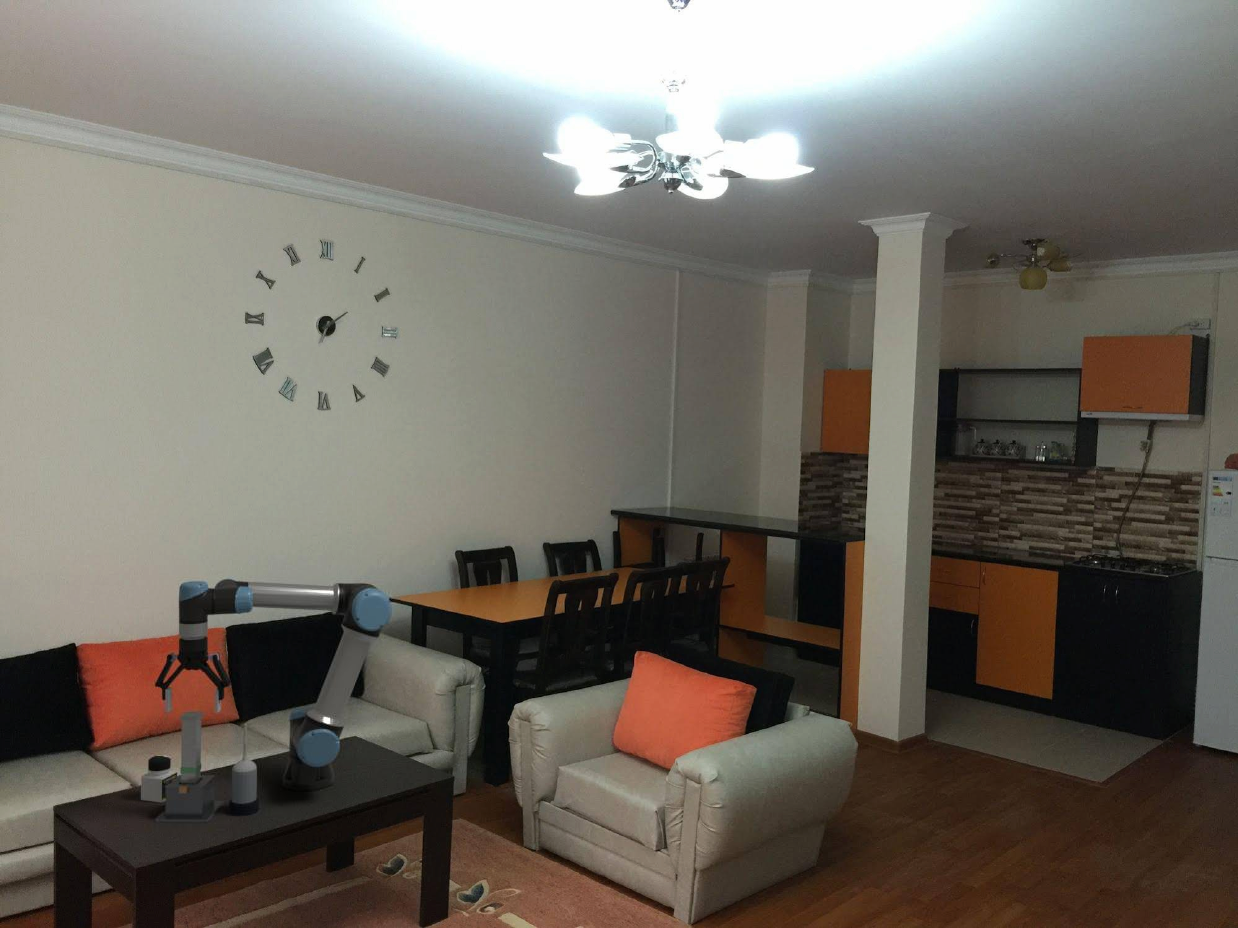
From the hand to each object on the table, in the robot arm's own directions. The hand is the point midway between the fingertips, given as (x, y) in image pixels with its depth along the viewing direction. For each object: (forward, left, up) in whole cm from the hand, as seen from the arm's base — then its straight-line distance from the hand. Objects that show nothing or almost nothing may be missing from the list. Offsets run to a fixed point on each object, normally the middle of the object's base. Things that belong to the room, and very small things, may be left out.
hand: (193, 711), depth 290 cm
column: (0, 0, -22) cm, 22 cm away
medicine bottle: (+13, -11, -29) cm, 34 cm away
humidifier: (-14, -2, -29) cm, 32 cm away
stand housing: (0, 0, -29) cm, 29 cm away
